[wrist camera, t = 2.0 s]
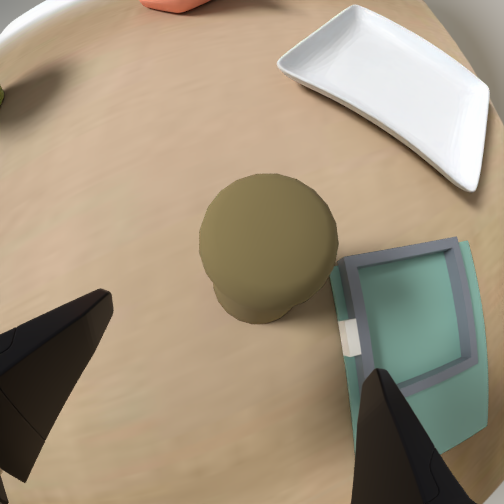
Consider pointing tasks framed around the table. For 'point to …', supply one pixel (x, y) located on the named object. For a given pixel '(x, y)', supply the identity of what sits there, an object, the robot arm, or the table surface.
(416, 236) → the table surface
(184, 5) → the teapot
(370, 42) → the salad plate
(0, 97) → the plant pot
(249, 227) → the cork
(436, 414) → the board
